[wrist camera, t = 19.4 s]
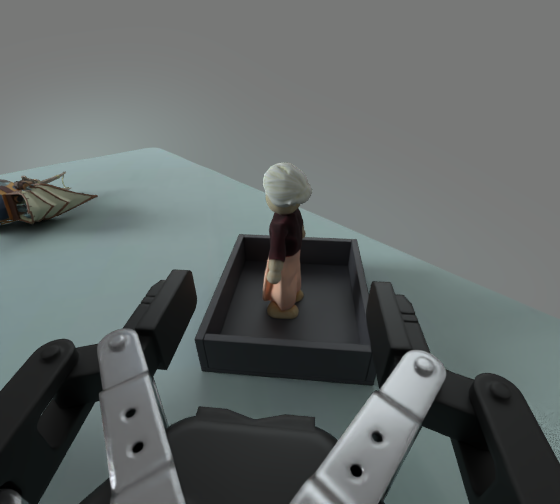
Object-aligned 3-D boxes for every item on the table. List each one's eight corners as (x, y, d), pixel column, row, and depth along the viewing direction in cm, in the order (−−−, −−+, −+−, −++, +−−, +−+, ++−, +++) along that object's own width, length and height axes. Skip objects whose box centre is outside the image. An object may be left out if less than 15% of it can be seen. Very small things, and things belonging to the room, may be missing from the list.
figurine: (4, 160, 49) (111, 160, 49) (20, 196, 52) (121, 196, 52) (-144, 204, 31) (23, 203, 32) (-108, 255, 34) (45, 254, 35)
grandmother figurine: (268, 278, 31) (264, 148, 24) (307, 280, 30) (314, 149, 23) (255, 337, 24) (243, 184, 17) (303, 341, 24) (311, 186, 17)
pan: (201, 371, 22) (194, 339, 20) (241, 260, 34) (239, 233, 32) (373, 385, 21) (382, 353, 19) (352, 266, 33) (356, 239, 31)
